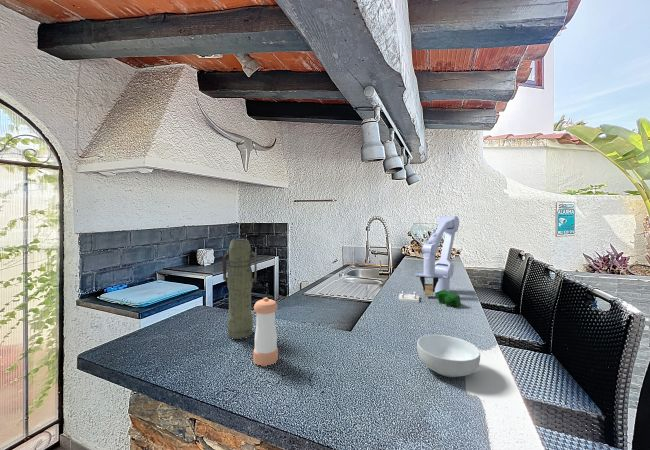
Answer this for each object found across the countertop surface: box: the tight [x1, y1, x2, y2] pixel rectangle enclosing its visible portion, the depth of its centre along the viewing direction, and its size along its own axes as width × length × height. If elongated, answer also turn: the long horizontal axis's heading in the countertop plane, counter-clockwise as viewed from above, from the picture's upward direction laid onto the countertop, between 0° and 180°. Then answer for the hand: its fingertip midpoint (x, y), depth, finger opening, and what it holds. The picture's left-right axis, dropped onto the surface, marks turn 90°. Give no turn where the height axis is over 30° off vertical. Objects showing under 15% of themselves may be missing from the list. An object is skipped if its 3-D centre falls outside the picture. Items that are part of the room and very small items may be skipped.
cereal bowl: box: [416, 334, 481, 378], centre depth 85 cm, size 17×17×7 cm
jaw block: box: [424, 283, 434, 296], centre depth 158 cm, size 4×4×5 cm
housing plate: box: [398, 290, 420, 303], centre depth 155 cm, size 10×10×3 cm
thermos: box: [222, 238, 258, 340], centre depth 108 cm, size 9×12×35 cm
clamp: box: [434, 290, 462, 308], centre depth 147 cm, size 12×6×9 cm, turn 11°
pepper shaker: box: [252, 297, 279, 367], centre depth 89 cm, size 7×7×19 cm
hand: (428, 291), depth 158 cm, fingers closed on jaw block, 4 cm apart
